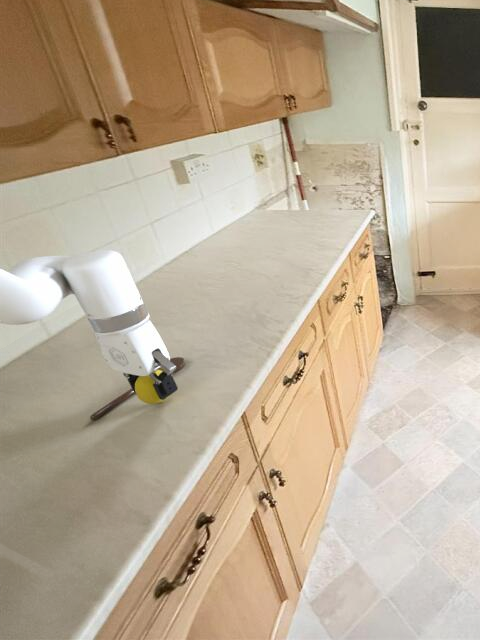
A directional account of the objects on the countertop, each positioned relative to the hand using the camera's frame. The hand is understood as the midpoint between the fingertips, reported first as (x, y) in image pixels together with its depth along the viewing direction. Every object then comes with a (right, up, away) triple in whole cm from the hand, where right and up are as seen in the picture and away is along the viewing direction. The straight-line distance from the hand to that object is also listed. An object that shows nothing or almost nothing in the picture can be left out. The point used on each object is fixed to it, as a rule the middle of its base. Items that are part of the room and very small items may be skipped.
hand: (156, 391), depth 80 cm
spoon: (-7, -1, +5) cm, 9 cm away
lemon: (0, -3, +1) cm, 3 cm away
